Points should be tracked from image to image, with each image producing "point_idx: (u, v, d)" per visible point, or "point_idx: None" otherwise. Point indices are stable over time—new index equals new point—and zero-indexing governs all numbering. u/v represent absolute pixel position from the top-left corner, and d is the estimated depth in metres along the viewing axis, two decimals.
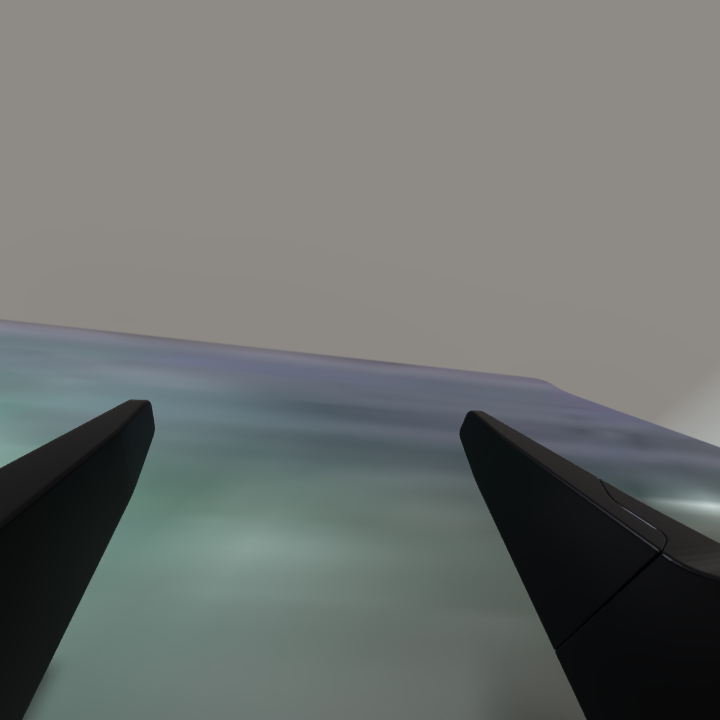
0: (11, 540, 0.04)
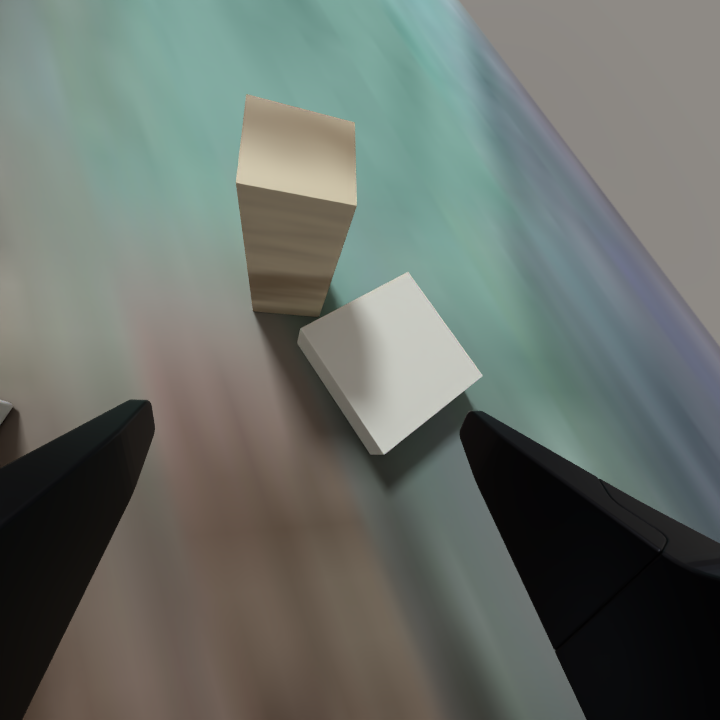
0: (12, 539, 0.04)
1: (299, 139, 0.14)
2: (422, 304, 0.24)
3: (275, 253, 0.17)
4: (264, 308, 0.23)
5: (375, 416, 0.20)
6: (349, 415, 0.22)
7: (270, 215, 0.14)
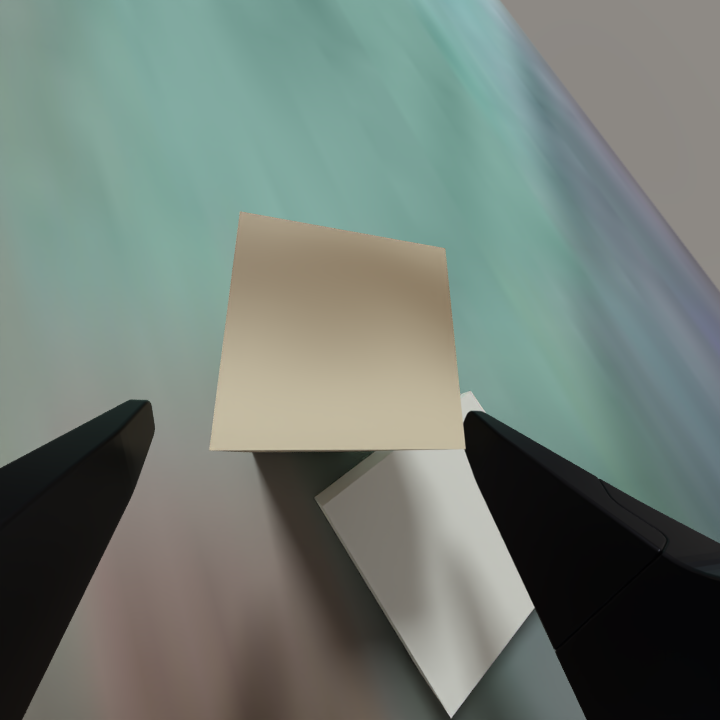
0: (12, 540, 0.04)
1: (346, 303, 0.07)
2: None
3: None
4: None
5: (435, 649, 0.13)
6: (391, 623, 0.15)
7: None
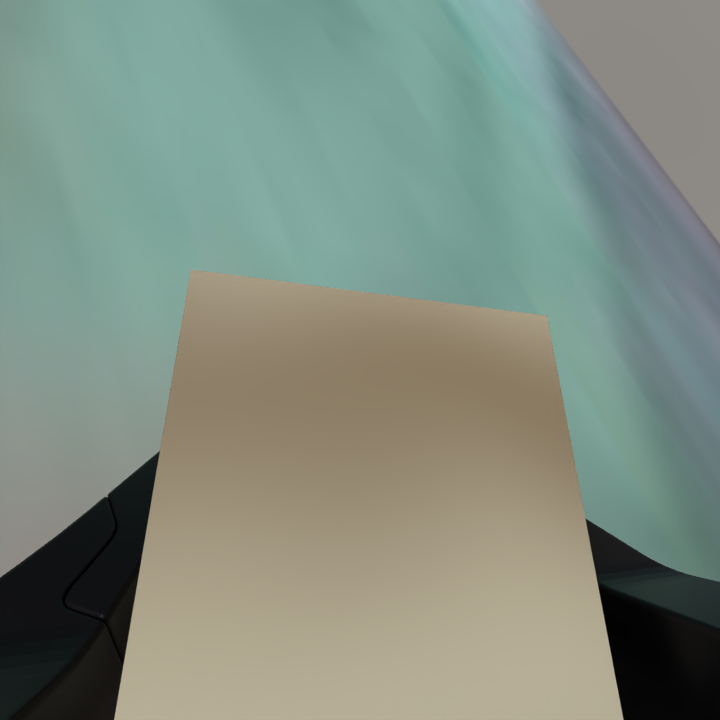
0: None
1: (393, 443, 0.04)
2: None
3: None
4: None
5: None
6: None
7: None
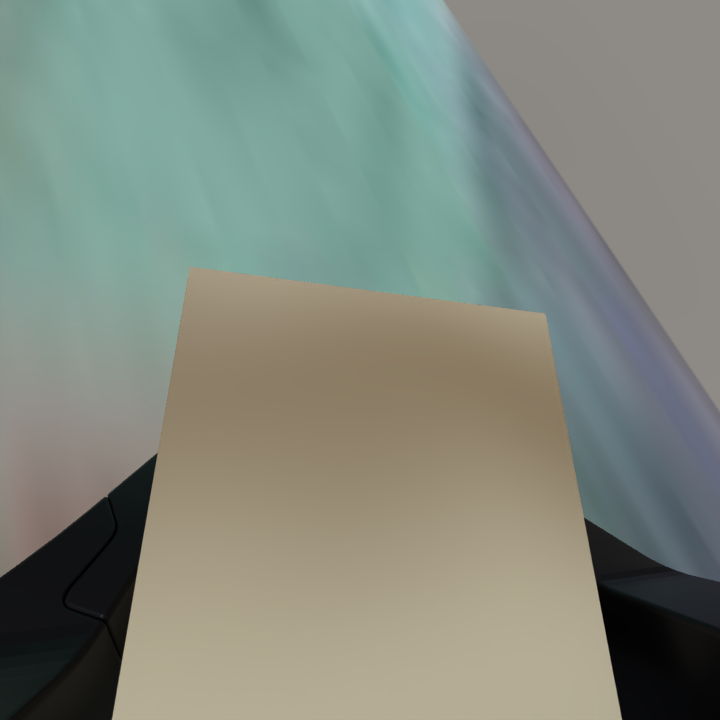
0: None
1: (391, 440, 0.04)
2: None
3: None
4: None
5: None
6: None
7: None
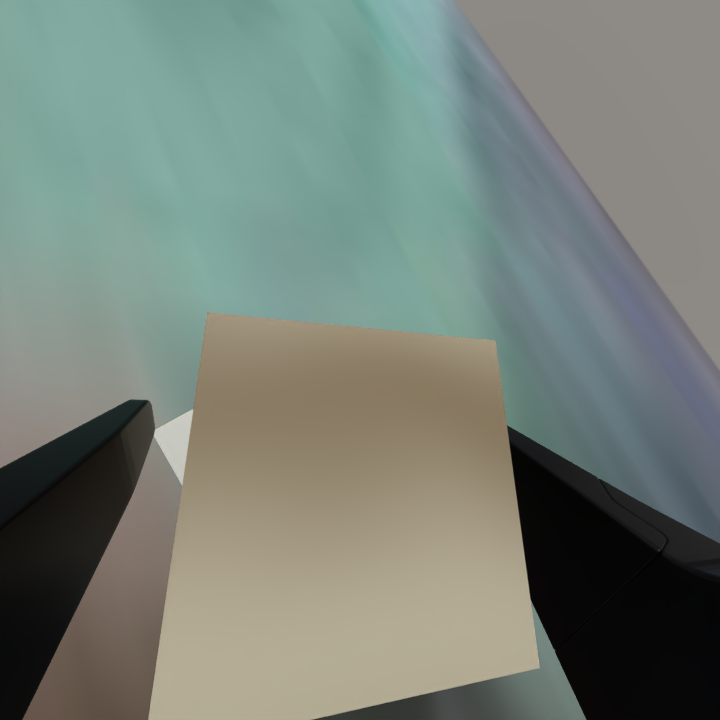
0: (12, 539, 0.04)
1: (363, 446, 0.05)
2: None
3: None
4: None
5: None
6: None
7: None
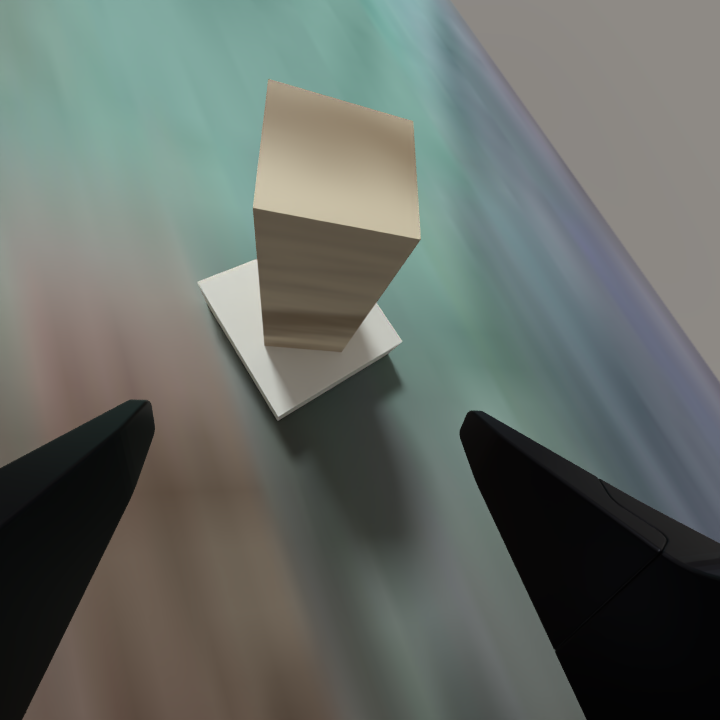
0: (12, 539, 0.04)
1: (340, 143, 0.10)
2: None
3: (298, 291, 0.13)
4: (278, 343, 0.19)
5: (273, 377, 0.19)
6: (252, 377, 0.21)
7: (297, 249, 0.10)
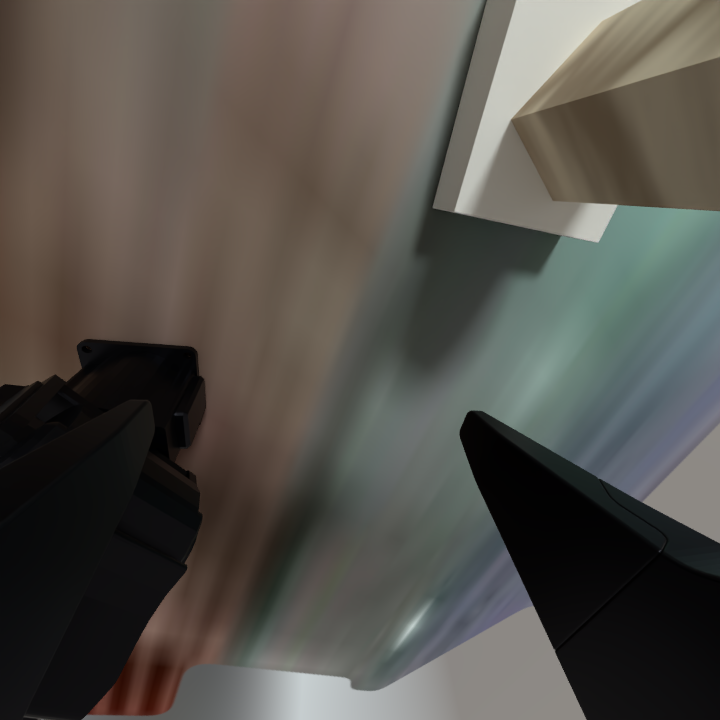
0: (11, 540, 0.04)
1: None
2: None
3: (694, 120, 0.09)
4: (526, 133, 0.15)
5: (484, 166, 0.16)
6: (458, 142, 0.16)
7: None
